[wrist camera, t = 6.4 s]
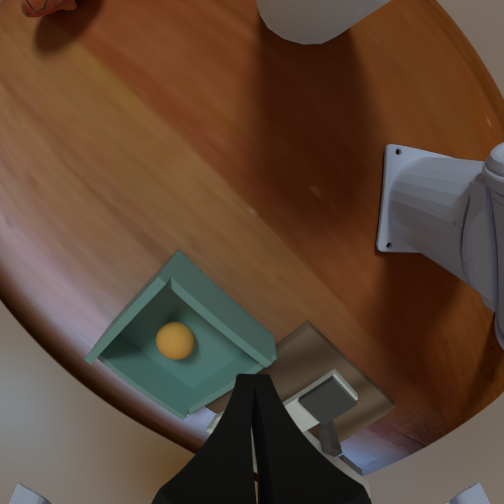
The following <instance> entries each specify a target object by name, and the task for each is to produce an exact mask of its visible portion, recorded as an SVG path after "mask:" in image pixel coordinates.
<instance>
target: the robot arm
mask: <svg viewBox="0 0 504 504" xmlns="http://www.w3.org/2000/svg"><path fill="white" fill-rule="evenodd" d="M396 149H398V150H399V154H398V155H397V154H396ZM389 242H390V246H389V247H386V245H387V243H389ZM376 247H377V249H378V250H379V251H381V252H414V253H422V254H423V255H425V256H427V257H428V258H430V259H431V260H433V261H434V262H436V263H437V264H439V265H440V266H442V267H443V268H445V269H446V270H448V271H449V272H451V273H452V274H454V275H455V276H456V277H458V278H459V279H461V280H462V281H464V282H465V283H466V284H468V285H469V286H471V287H472V288H474V289H475V290H476V291H478V292H479V293H480V294H481V296H482V299H483V304H484V305H486V306H487V307H488V308H489V309H491V310H492V311H493V312H494V313H495V333H496V336H497V340H498V342H499V344H500V346H501V347H502V348H503V350H504V142H503V143H501V144H499V145H498V146H496V147H495V148H494V149H493V150H492V151H491V153H490V155H489V157H488V158H487V159H486V160H485V162H482V161H473V160H464V159H456V158H452V157H448V156H444V155H440V154H436V153H432V152H428V151H424V150H419V149H415V148H410V147H405V146H400V145H395V144H388V145H387V146H386V147H385V156H384V174H383V188H382V199H381V209H380V218H379V227H378V234H377V242H376ZM251 426H252V435H253V442H254V450H255V457H256V465H257V483H258V504H372V503H371V500H370V497H369V495H368V493H367V491H366V489H365V487H364V486H363V485H362V484H360V483H359V482H357V481H356V480H354V479H352V478H351V477H350V476H348V475H347V474H345V473H344V472H343V471H341V470H340V469H339V468H337V467H336V466H335V465H334V464H332V463H331V462H330V461H329V460H328V459H327V458H326V457H325V456H324V455H322V454H321V453H320V452H319V451H318V450H317V449H316V448H315V447H314V446H313V445H312V443H311V442H310V441H309V440H308V439H307V438H306V437H305V435H304V434H303V433H302V432H301V430H300V429H299V428H298V426H297V425H296V423H295V422H294V421H293V419H292V418H291V416H290V415H289V413H288V411H287V410H286V408H285V406H284V404H283V403H282V401H281V399H280V397H279V395H278V393H277V391H276V389H275V387H274V384H273V382H272V379H271V376H270V375H269V374H238V375H236V381H235V385H234V389H233V392H232V394H231V397H230V399H229V402H228V404H227V406H226V409H225V411H224V413H223V414H222V416H221V418H220V420H219V422H218V424H217V425H216V427H215V429H214V430H213V432H212V433H211V435H210V436H209V438H208V439H207V441H206V442H205V443H204V445H203V446H202V447H201V449H200V450H199V451H198V452H197V454H196V455H195V456H194V457H193V458H192V459H191V460H190V461H189V462H188V463H187V465H186V466H185V467H184V468H183V469H182V470H181V471H180V472H179V473H178V474H176V475H175V476H174V477H173V478H172V479H171V480H170V481H168V482H167V483H166V484H165V485H163V486H162V487H161V488H160V489H159V491H158V492H157V494H156V496H155V498H154V499H153V501H152V504H257V503H256V493H255V483H254V469H253V454H252V435H251ZM9 504H51V503H50V502H49V501H48V500H47V499H45V498H44V497H43V496H41V495H39V494H38V493H36V492H34V491H32V490H30V489H29V488H27V487H25V486H24V485H22V484H21V483H18V485H17V487H16V489H15V491H14V493H13V496H12V498H11V500H10V503H9ZM445 504H490V502H489V500H488V498H487V496H486V494H485V492H484V490H483V488H482V486H481V484H480V483H479V482H477V483H476V484H474V485H472V486H471V487H469V488H467V489H465V490H464V491H462V492H460V493H459V494H457V495H456V496H455V497H453V498H452V499H451V500H450V501H449V502H447V503H445Z"/></svg>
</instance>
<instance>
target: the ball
mask: <svg viewBox="0 0 504 504" xmlns="http://www.w3.org/2000/svg"><path fill="white" fill-rule="evenodd" d="M156 344H157V347H158V349H159V351H160V352H161V354H162V355H164V356H165V357H167V358H169V359H172V360H181V359H184V358H186V357H187V356H188V355H190V353H191V352H192V350H193V348H194V344H195V339H194V335H193V333H192V331H191V330H190V328H189V327H187V326H186V325H185V324H183V323H180V322H169V323H166V324H165V325H163V326H162V327H161V328H160V329H159V331H158V333H157V336H156Z"/></svg>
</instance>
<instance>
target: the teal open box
mask: <svg viewBox="0 0 504 504" xmlns="http://www.w3.org/2000/svg"><path fill="white" fill-rule="evenodd" d="M169 322H180V323H183V324H185V325H186V326H187V327H189V328H190V330H191V331H192V333H193V335H194V339H195V344H194V348H193V350H192V352H191V353H190V355H188V356H187V357H186V358H184V359H181V360H172V359H169V358H167V357H165V356H164V355H162V354H161V352H160V351H159V349H158V347H157V344H156V336H157V333H158V331H159V329H160V328H161V327H162V326H163V325H165V324H166V323H169ZM96 358H98V359H99V360H100V361H101V362H102V363H103V364H105V365H106V366H107V367H108V368H110V369H111V370H112V371H113V372H115V373H116V374H117V375H118V376H120V377H121V378H122V379H123V380H125V381H126V382H127V383H129V384H130V385H131V386H133V387H134V388H135V389H137V390H138V391H140V392H141V393H142V394H144V395H145V396H147V397H148V398H150V399H151V400H152V401H154V402H155V403H157V404H158V405H160V406H161V407H163V408H164V409H166V410H168V411H169V412H171V413H172V414H174V415H175V416H177V417H179V418H180V419H184V418H186V416H187V414H189V415H190V414H191V413H193V412H195V411H197V410H198V409H200V408H202V407H203V406H205V405H207V404H208V403H210V402H212V401H213V400H215V399H217V398H218V397H220V396H222V395H223V394H225V393H226V392H228V391H230V390H231V389H233V388H234V385H235V381H236V375H238V374H256V373H257V372H259V371H260V370H262V369H263V368H264V367H268V366H269V365H271V364H272V362H273V361H275V360H276V359H277V355H276V348H275V340H274V335H273V334H271V333H270V332H269V331H268V330H267V329H266V328H264V327H263V326H262V325H261V324H260V323H259V322H258V321H256V320H255V319H254V318H253V317H252V316H251V315H250V314H248V313H247V312H246V311H245V310H244V309H243V308H242V307H241V306H239V305H238V304H237V303H236V302H235V301H234V300H233V299H232V298H230V297H229V296H228V295H227V294H226V293H225V292H224V291H223V290H222V289H221V288H219V287H218V286H217V285H216V284H215V283H214V282H213V281H212V280H211V279H210V278H209V277H208V276H206V275H205V274H204V273H203V272H202V271H201V270H200V269H199V268H198V267H197V266H196V265H195V264H194V263H193V262H191V261H190V260H189V259H188V258H187V257H186V256H185V255H184V254H183V253H182V252H181V251H180V250H179V249H178V250H177V251H176V252H175V253H174V254H173V256H172V257H171V258H170V259H169V260H168V261H167V262H166V263H165V264H164V265H163V266H162V267H161V268H160V269H159V270H158V271H157V273H156V274H155V275H154V276H153V277H152V278H151V279H150V280H149V281H148V282H147V283H146V284H145V286H144V287H143V288H142V289H141V290H140V291H139V292H138V293H137V294H136V295H135V297H134V298H133V299H132V300H131V301H130V302H129V303H128V304H127V306H126V307H125V308H124V309H123V310H122V311H121V312H120V313H119V315H118V316H117V317H116V318H115V319H114V320H113V321H112V323H111V324H110V325H109V326H108V328H107V329H106V330H105V332H104V333H103V334H102V336H101V337H100V338H99V340H98V341H97V343H96V344H95V345H94V347H93V348H92V350H91V351H90V352H89V354H88V355H87V357H86V358H85V360H86V361H87V362H88V363H89V364H92V362H93V361H94V360H95V359H96Z"/></svg>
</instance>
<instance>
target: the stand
mask: <svg viewBox="0 0 504 504" xmlns="http://www.w3.org/2000/svg"><path fill="white" fill-rule="evenodd" d="M275 348H276V355H277V359H276V360H275V361H273V362H272V364H271V365H269V366H268V367H264V368H263V369H262V370H260V371H259V372H257V373H256V374H269V375H270V376H271V379H272V382H273V384H274V387H275V389H276V391H277V393H278V395H279V397H280V399H281V401H282V402H284V401H286V400H287V399H289V398H291V397H292V396H294V395H295V394H297V393H299V392H300V391H302V390H303V389H305V388H306V387H308V386H309V385H311V384H312V383H314V382H315V381H317V380H318V379H320V378H321V377H323V376H324V375H326V374H327V373H329V372H330V371H331V370H333V369H335V370H336V371H337V372H338V373H339V374H340V375H341V376H342V377H343V378H344V380H345V381H346V382H347V383H348V384H349V385H350V386H351V387H352V388H353V389H354V391H355V392H356V393H357V395H358V399H357V400H356V403H357V405H356V406H354V407H353V408H351V409H350V410H348V411H346V412H345V413H343V414H342V415H340V416H338V417H337V418H335V419H333V420H332V421H330V422H328V423H327V424H325V425H322V424H321V423H319V424H317V425H315V426H313V427H311V428H310V429H308V430H307V431H308V432H309V433H311V434H312V435H313V436H314V437H315V438H316V439H317V440H318V441H320V442H321V443H322V446H323V451H324V453H326V454H328V455H331V456H333V457H336V456H338V455H339V454H341V453H342V450H341V446H340V442H341V441H343V440H345V439H347V438H349V437H350V436H352V435H354V434H356V433H357V432H359V431H361V430H362V429H364V428H366V427H367V426H369V425H370V424H372V423H374V422H375V421H377V420H378V419H380V418H381V417H383V416H384V415H386V414H387V413H389V412H390V411H392V410H393V409H395V408H396V405H395V403H394V401H393V400H392V399H390V398H389V397H388V396H387V395H386V394H385V393H384V392H383V391H382V390H381V389H380V388H379V387H378V386H377V385H376V384H374V383H373V382H372V381H371V380H370V379H369V378H368V377H367V376H366V375H365V374H364V373H363V372H362V371H361V370H360V369H359V368H357V367H356V366H355V365H354V364H353V363H352V362H351V361H350V360H349V359H348V358H347V357H346V356H345V355H344V354H343V353H342V352H341V351H339V350H338V349H337V348H336V347H335V346H334V345H333V344H332V343H331V342H330V341H329V340H328V339H327V338H326V337H325V336H324V335H323V334H322V333H321V332H320V331H318V330H317V329H316V328H315V327H314V326H313V325H312V324H311V323H310V322H309V321H306V322H305V323H304V324H303V325H301V326H300V327H299V328H297V329H296V330H295V331H294V332H292V333H291V334H290V335H288V336H287V337H286V338H284V339H283V340H282V341H280V342H279V343H278V344H276V345H275ZM233 389H234V388H233ZM233 389H231V390H230V391H228V392H226V393H225V394H223V395H222V396H220V397H218V398H217V399H215V400H213V401H212V402H210V403H208V404H207V405H205V407H206V408H208V409H210V410H211V411H213V412H215V413H216V414H219V413H221V412H222V411H224V410H225V409H226V406H227V404H228V402H229V399H230V397H231V394H232V392H233Z"/></svg>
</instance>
